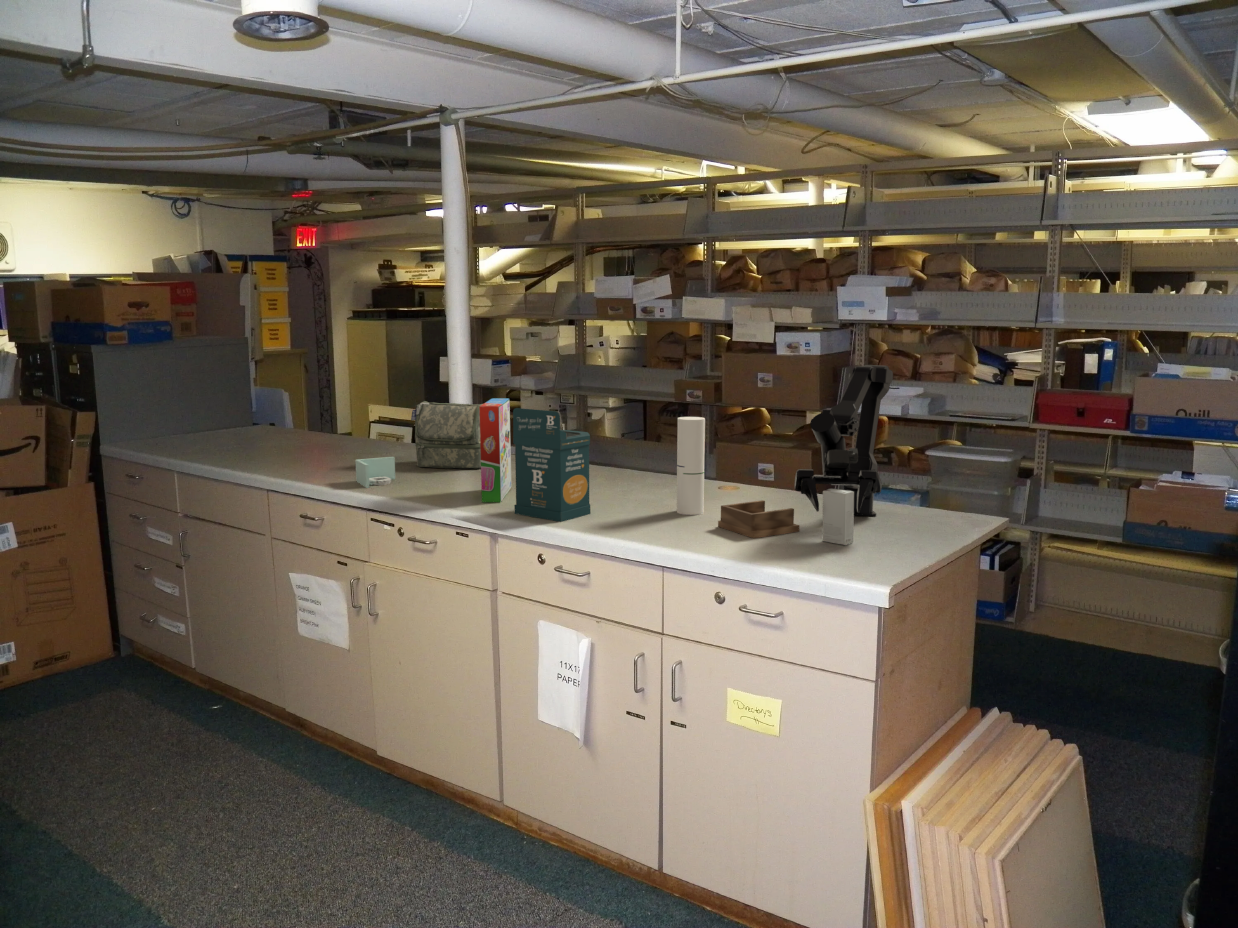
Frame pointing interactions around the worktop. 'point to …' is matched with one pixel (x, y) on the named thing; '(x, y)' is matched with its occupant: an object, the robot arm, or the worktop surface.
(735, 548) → the worktop surface
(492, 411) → the game box
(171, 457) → the worktop surface
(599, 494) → the worktop surface
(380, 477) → the l-shaped corner panel
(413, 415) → the lunch bag
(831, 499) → the skincare box
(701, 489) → the cylindrical container
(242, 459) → the worktop surface
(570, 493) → the donation box
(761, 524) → the box
